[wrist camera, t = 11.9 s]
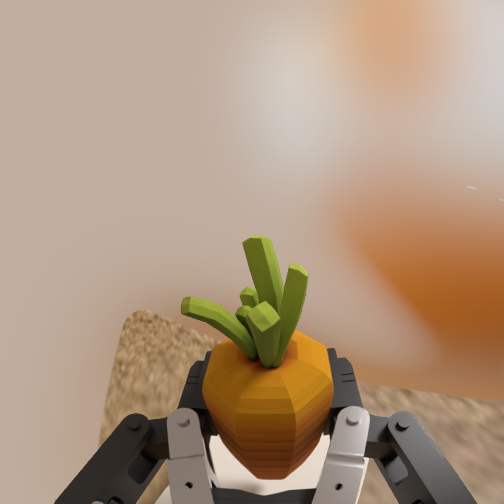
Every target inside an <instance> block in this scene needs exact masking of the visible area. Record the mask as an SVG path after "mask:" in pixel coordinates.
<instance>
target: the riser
mask: <svg viewBox="0 0 504 504" xmlns="http://www.w3.org/2000/svg"><path fill="white" fill-rule="evenodd" d="M329 444H330V437H329V435H324V436H323V433H322V436H321V438H320V441H319V443H318V445H317V446H316V448H315V449H314V451H313V452H312V453H311V455H310V456H309V457H308V458H307V460H306V461H305V462H304V463H303V464H302V465H301V466H300V467H298V468H297V469H296V470H295V471H294V472H292V473H291V474H290V475H289V476H288V477H286V478H285V479H282V480H261V479H257V478H256V477H255V476H254V475H253V474H252V473H250V472H249V471H248V470H247V469H246V468H245V467H244V466H243V465H242V464H241V463H240V462H239V461H238V460H237V459H236V458H235V457H234V456H233V455H232V454H231V453H230V451H229V450H228V449H227V448H226V446H225V445H224V444H223V443H222V441H221V439H220V436H219V434H218V436H211V439H210V448H211V453H212V457H213V462H214V466H215V471H216V475H217V478H218V481H219V484H220V487H221V488H228V489H239V490H243V491H247V492H251V493H255V494H259V495H270V494H275V493H279V492H283V491H287V490H296V489H311V488H316V485H317V482H318V480H319V477H320V474H321V471H322V467H323V464H324V461H325V458H326V454H327V451H328V448H329ZM364 460H365V463H364V469H363V474H362V478H361V483H360V487H359V491H358V495H357V499H356V502H355V504H357V502H358V499H359V495H360V492H361V488H362V485H363V481H364V477H365V473H366V469H367V465H368V461H369V458H366V457H364ZM154 504H172V502H171V495H170V487H169V485H168V487H167V488H166V489H165V490H164V492H163V493H162V494H161V496H160V497H159V498H158V499H157V501H156V502H155V503H154Z"/></svg>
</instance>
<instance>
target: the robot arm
mask: <svg viewBox="0 0 504 504" xmlns="http://www.w3.org/2000/svg"><path fill="white" fill-rule="evenodd" d="M211 353H212V351H207V353H206V356H205V360H204V361H196V362H195V363H194V365H193V366H192V367H191V368H190V371H189V374H188V377H187V380H186V384H185V387H184V390H183V393H182V396H181V399H180V402H179V406H178V408H177V409H176V410H174V411H173V412H171V413H170V414H169V416H168V417H166V418H161V419H153V420H148V418H147V417H146V416H144V415H142V414H137V413H135V414H130V415H128V416H126V417H125V418H124V419H123V420H122V422H121V423H120V424H119V425H118V426H117V428H116V429H115V430H114V431H113V432H112V434H111V435H110V436H109V437H108V438H107V440H106V441H105V442H104V443H103V445H102V446H101V447H100V448H99V449H98V451H97V452H96V453H95V454H94V455H93V457H92V458H91V459H90V460H89V461H88V463H87V464H86V465H85V466H84V467H83V469H82V470H81V471H80V472H79V473H78V475H77V476H76V477H75V478H74V479H73V481H72V482H71V483H70V484H69V485H68V487H67V488H66V489H65V490H64V491H63V493H62V494H61V495H60V496H59V497H58V499H57V500H56V501H55V503H54V504H135V503H136V502H137V501H138V499H139V498H140V496H141V495H142V493H143V492H144V491H145V489H146V488H147V486H148V485H149V483H150V482H151V480H152V479H153V477H154V476H155V475H156V473H157V472H158V470H159V469H160V467H161V466H162V464H163V463H164V461H165V460H166V459H168V460H167V471H168V479H169V487H170V495H171V502H172V504H355V502H356V499H357V495H358V491H359V487H360V483H361V478H362V474H363V469H364V463H365V460H364V457H366V458H373V459H374V461H375V462H376V464H377V466H378V468H379V469H380V471H381V473H382V475H383V476H384V478H385V480H386V482H387V483H388V485H389V487H390V489H391V490H392V492H393V494H394V496H395V497H396V499H397V501H398V503H399V504H477V502H476V501H475V499H474V498H473V496H472V495H471V493H470V492H469V491H468V489H467V488H466V486H465V485H464V483H463V482H462V480H461V479H460V478H459V476H458V475H457V473H456V472H455V470H454V469H453V468H452V466H451V465H450V463H449V462H448V461H447V459H446V458H445V456H444V455H443V454H442V452H441V451H440V449H439V448H438V447H437V445H436V444H435V443H434V441H433V440H432V438H431V437H430V436H429V434H428V433H427V432H426V430H425V429H424V428H423V426H422V425H421V423H420V422H419V421H418V419H417V418H416V417H415V416H414V415H413V414H411V413H409V412H406V411H401V412H397V413H395V414H393V415H392V416H391V417H390V418H388V417H378V416H374V415H371V414H369V413H368V412H367V411H366V410H365V409H364V408H363V406H362V402H361V398H360V394H359V390H358V387H357V383H356V380H355V375H354V372H353V368H352V365H351V363H350V362H349V361H348V360H347V359H346V358H337V355H336V351H335V349H334V348H329V349H327V353H328V358H329V363H330V369H331V375H332V380H333V386H334V396H333V400H332V404H331V408H330V411H329V415H328V418H327V422H326V425H325V428H324V430H323V436H324V435H329V437H330V444H329V448H328V451H327V454H326V458H325V461H324V464H323V467H322V471H321V474H320V477H319V480H318V482H317V485H316V488H311V489H296V490H287V491H283V492H279V493H275V494H270V495H259V494H255V493H251V492H247V491H243V490H239V489H228V488H221V487H220V484H219V481H218V478H217V475H216V471H215V466H214V462H213V457H212V453H211V448H210V439H211V436H218V432H217V430H216V428H215V426H214V423H213V421H212V418H211V415H210V412H209V410H208V408H207V405H206V403H205V400H204V397H203V392H202V387H203V381H204V377H205V374H206V370H207V367H208V363H209V360H210V356H211Z"/></svg>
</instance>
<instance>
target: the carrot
mask: <svg viewBox="0 0 504 504" xmlns="http://www.w3.org/2000/svg"><path fill="white" fill-rule="evenodd" d="M243 247H244V251H245V254H246V258H247V262H248V266H249V269H250V272H251V275H252V278H253V282H254V285H255V288H256V289H253V288H250V287H246V288H245V289H244V290H242V291H241V293H240V298H241V302H242V305H243V306H242V307H240V308H238V310H237V312H236V314H235V315H236V317H237V319H238V320H237V319H236V318H235V317H234V316H233V315H232V314H231V313H229V312H228V311H227V310H226V309H225V308H223V307H222V306H221V305H218V304H215V303H213V302H210V301H207V300H204V299H200V298H195V297H185V298H184V299H183V301H182V304H181V314H183V315H186V316H188V317H192V318H194V319H197V320H201V321H204V322H206V323H208V324H210V325H211V326H213V327H214V328H216V329H217V330H219V331H220V332H222V333H223V334H224V335H226V336H227V337H229V339H227V340H225V341H223V342H221V343H219V344H218V345H217V346H215V347H214V348H213V349H212V353H211V356H210V360H209V363H208V367H207V370H206V374H205V377H204V381H203V387H202V392H203V397H204V400H205V403H206V405H207V408H208V410H209V412H210V415H211V418H212V421H213V423H214V426H215V428H216V430H217V432H218V434H219V436H220V439H221V441H222V443H223V444H224V445H225V446H226V448H227V449H228V450H229V451H230V453H231V454H232V455H233V456H234V457H235V458H236V459H237V460H238V461H239V462H240V463H241V464H242V465H243V466H244V467H245V468H246V469H247V470H248V471H249V472H250V473H252V474H253V475H254V476H255V477H256V478H257V479H261V480H282V479H285V478H286V477H288V476H289V475H290V474H291V473H292V472H294V471H295V470H296V469H297V468H298V467H300V466H301V465H302V464H303V463H304V462H305V461H306V460H307V458H308V457H309V456H310V455H311V453H312V452H313V451H314V449H315V448H316V446H317V445H318V443H319V441H320V438H321V436H322V433H323V430H324V428H325V425H326V422H327V418H328V415H329V411H330V408H331V404H332V400H333V396H334V386H333V380H332V375H331V369H330V363H329V358H328V353H327V349H326V346H324V345H322V344H321V343H319V342H317V341H315V340H313V339H311V338H310V337H308V336H306V335H304V334H302V333H300V332H299V331H297V330H295V328H296V326H297V323H298V320H299V318H300V315H301V312H302V308H303V303H304V300H305V296H306V289H307V282H308V273H307V272H306V271H305V270H304V269H303V268H302V267H301V266H300V265H296V264H290V265H289V269H288V274H287V278H286V282H285V287H283V283H282V278H281V274H280V269H279V266H278V261H277V258H276V255H275V252H274V249H273V246H272V243H271V240H269V239H268V238H267V237H264V236H259V235H254V236H252V237H251V238H249V239H247V240H246V241H244V242H243Z"/></svg>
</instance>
